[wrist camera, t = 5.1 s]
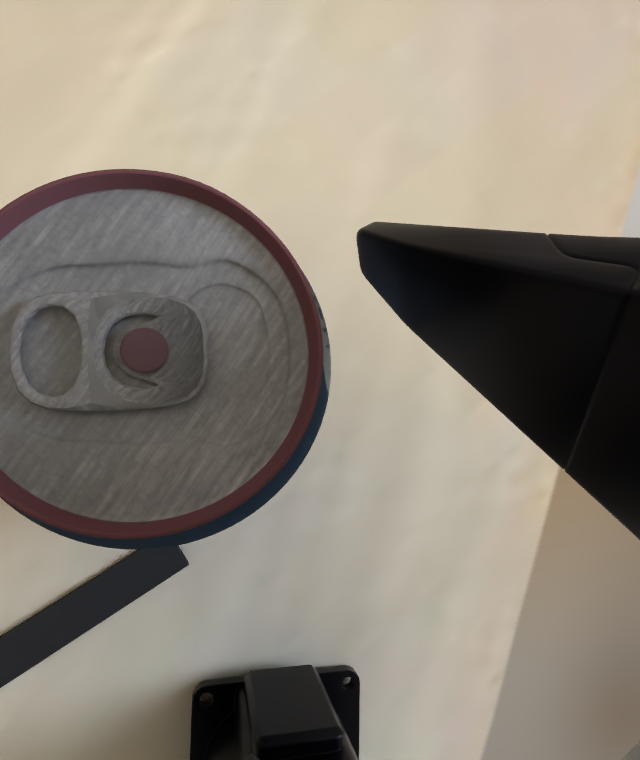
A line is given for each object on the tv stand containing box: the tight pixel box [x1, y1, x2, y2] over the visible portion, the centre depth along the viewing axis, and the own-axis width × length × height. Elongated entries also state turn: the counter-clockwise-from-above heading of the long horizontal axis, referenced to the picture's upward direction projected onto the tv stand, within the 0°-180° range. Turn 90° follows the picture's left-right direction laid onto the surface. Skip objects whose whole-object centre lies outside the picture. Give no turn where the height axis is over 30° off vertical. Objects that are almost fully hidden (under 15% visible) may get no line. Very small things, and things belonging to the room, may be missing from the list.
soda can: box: [0, 169, 331, 549], centre depth 13 cm, size 7×7×12 cm
